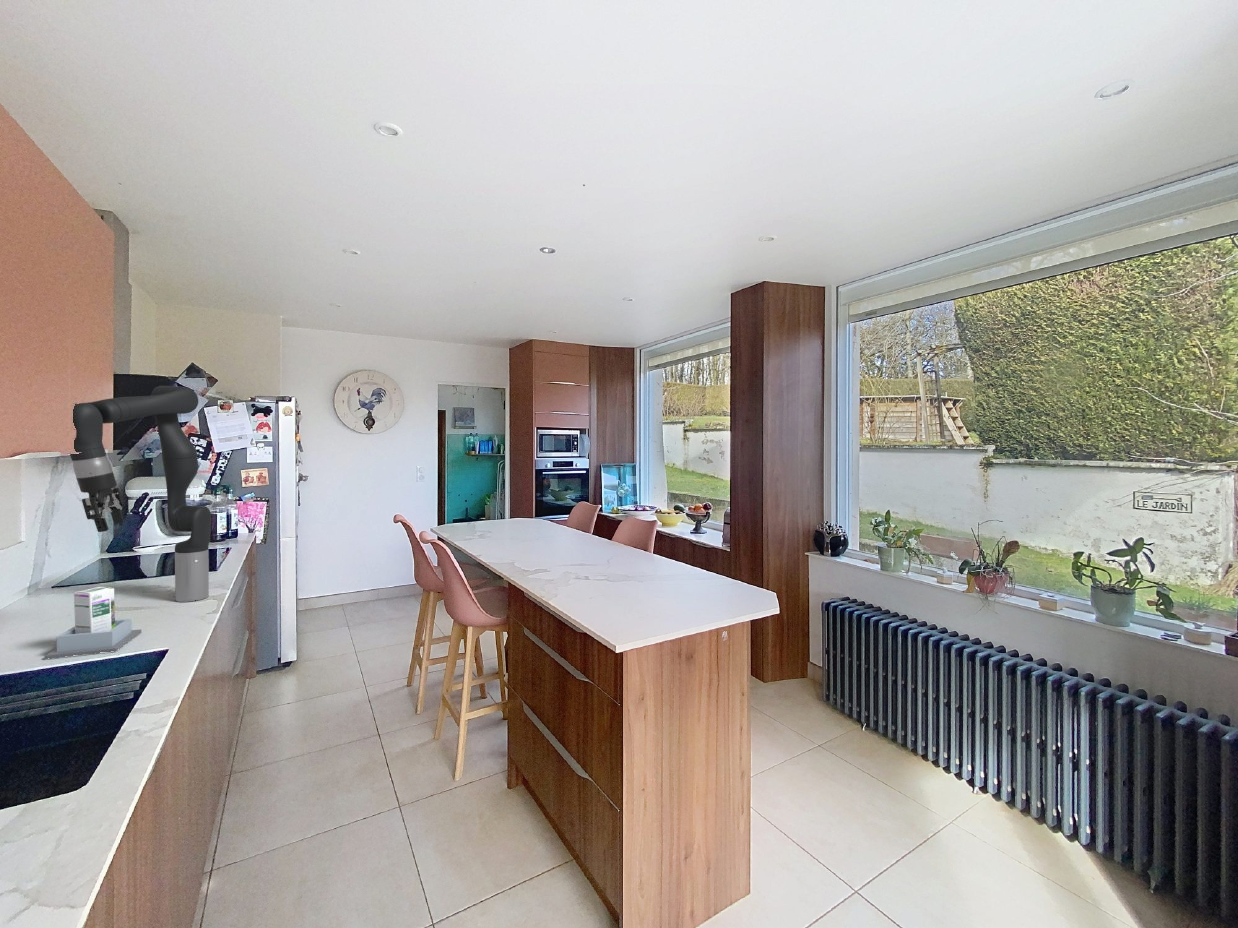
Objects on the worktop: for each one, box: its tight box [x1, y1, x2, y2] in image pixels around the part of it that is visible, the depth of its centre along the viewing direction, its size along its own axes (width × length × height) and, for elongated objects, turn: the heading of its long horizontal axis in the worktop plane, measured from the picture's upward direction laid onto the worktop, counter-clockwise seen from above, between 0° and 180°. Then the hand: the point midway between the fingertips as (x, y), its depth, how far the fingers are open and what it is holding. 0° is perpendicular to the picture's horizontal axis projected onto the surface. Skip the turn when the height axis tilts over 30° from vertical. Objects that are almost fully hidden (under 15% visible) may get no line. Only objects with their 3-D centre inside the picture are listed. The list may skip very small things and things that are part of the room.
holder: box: [43, 618, 142, 660], centre depth 141 cm, size 15×14×5 cm
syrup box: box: [73, 586, 116, 634], centre depth 140 cm, size 6×6×14 cm
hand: (111, 527), depth 150 cm, fingers open, 8 cm apart
